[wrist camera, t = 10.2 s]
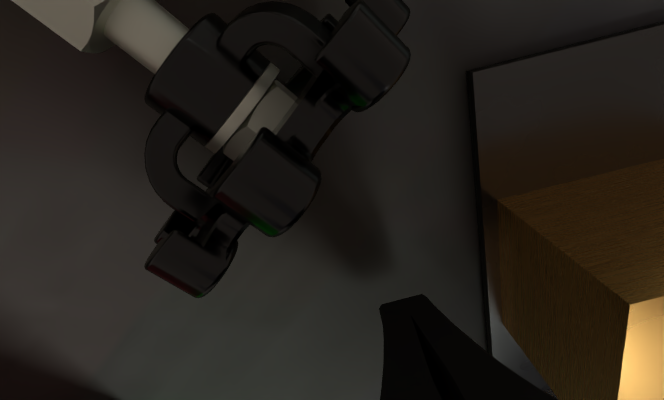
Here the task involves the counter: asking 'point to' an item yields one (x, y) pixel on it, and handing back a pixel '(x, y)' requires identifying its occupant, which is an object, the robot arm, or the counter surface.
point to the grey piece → (558, 137)
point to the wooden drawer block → (588, 283)
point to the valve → (238, 110)
